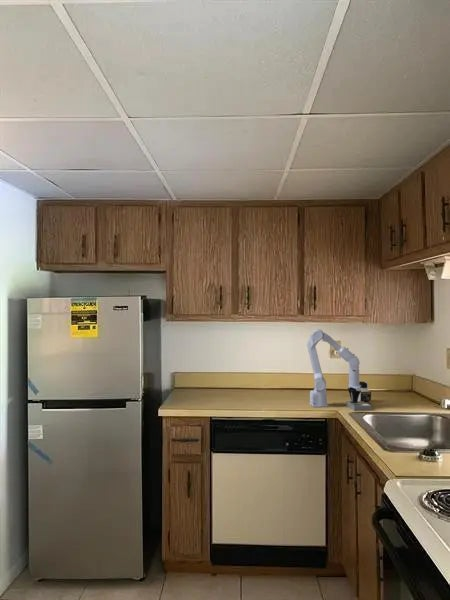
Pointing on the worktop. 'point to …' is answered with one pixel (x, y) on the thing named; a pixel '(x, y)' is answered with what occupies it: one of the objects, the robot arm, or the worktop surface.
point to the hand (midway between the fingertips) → (354, 401)
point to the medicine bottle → (364, 392)
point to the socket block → (359, 406)
